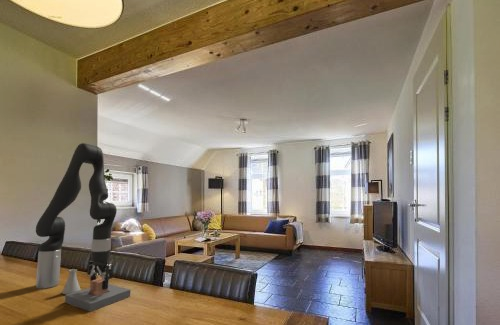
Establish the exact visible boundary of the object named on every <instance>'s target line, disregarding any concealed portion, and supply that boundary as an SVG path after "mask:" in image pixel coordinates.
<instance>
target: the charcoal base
mask: <svg viewBox="0 0 500 325" xmlns="http://www.w3.org/2000/svg"><path fill="white" fill-rule="evenodd" d="M64 295H65V294H64ZM130 297H131V289H130V288H126V287H123V286H122V287H121V286H118V285H115V284H111V283H108V292H107V293H104V294H101V295H98V296H94V295H91V294H90V287H87V288H85V289H81V290H80V291H77V292H74V293H71V294H66V295H65V297H64V298H65V299H64V303H65V304H69V305H70V306H74V307H76V308H79V309H82V310H85V311H87V312H91V313H92V312H94V311H96V310H99V309H101V308H104V307H107V306H109V305H111V304H115V303H117V302H120V301H122V300H125V299H127V298H130Z"/></svg>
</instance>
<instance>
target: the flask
mask: <svg viewBox="0 0 500 325" xmlns="http://www.w3.org/2000/svg"><path fill="white" fill-rule="evenodd" d="M77 271H78V269H75V268H72V269H69V270H68V277H67V281H66V282H65V285H64V287H63V289H62V290H61V294H62V295H67V294H71V293H74V292H77V291H80V290H82V288H81V287H80V284H79V281H78V277H77Z"/></svg>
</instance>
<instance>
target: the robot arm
mask: <svg viewBox="0 0 500 325" xmlns="http://www.w3.org/2000/svg"><path fill="white" fill-rule="evenodd" d="M83 164H87V165H92V167H93V173H92V175H91V177H90V179H89V181H88V189H89V190H88V191H89V193H90V194H89V195H90V206H89V207H90V208H89V216H90V217H91V219H93V220H96V221H97V220H103V222H101V223H100V224H96V225H95V226H93V232H92V242H91V247H90V248H91V249H90V250H91V252H90V260H89V261H88V262H87V271H86V272H87V273H86V274H87V275H88V276H89V277H90V278H89V279H90V281H92V280H96V279H97V275H98V274H99V276H100V277H101V278H102V279H103V281H102V289H103V290H104V289H107V288H108V284H109V280H110V279H113V270H114V269H113V267H114V265H113V263H109V262H108V261H110V259H111V251H112V250H111V247H112V238H111V236H112V228H113V224H114V221H115V218H116V215H117V206H116V205H115V203H112V202H106V203H101V202H103V201H106V200H107V199H108V198H109V192H108V187H107V184H106V183H107V182H106V180H105V179H106V178H105V162H104V152H103V150H102V148H101V147H100V146H97V145H93V144H90V143H84V142H82V143H79V144H78V146H76V148H75V150H74V153H73V155H72V157H71V160H70V162H69V164H68V167H67V169H66V171H65V173H64V176H63V177H62V179H61V181H60V183H59V184H58V187H57V188H56V189H55V190H56V191H55V193H54V195H53V197H52V198H51V200H50V202H49V204H48V206H47V208H46V209H45V210H44V212H43V214H42V215H41V216H40V218H39V219H38V222H37V224H36V225H35V233H36V235H37V236H38V237H40V238H47V237H48V238H47V239H46V241H44V242H42V243H41V244H40V245H38V254H37V267H36V268H37V269H36V278H35V279H36V280H35V288H36V289H38V290H40V289H50V288H54V287H57V286H58V285H59V284H60V271H61V258H62V257H61V255H62V246H63V244H64V239H65V232H66V223H65V219H64V218H63V217H61V216H59V215H60V214H61V213H62V212H63V211H64V210H65V209H67V208H68V207H69V206H70V205H72V204H73V203H74V201H75V200H76V199H77V197H79V196H78V195H79V193H80V191H81V189H82V181H81V176H80V170H81V167H82V165H83ZM90 281H89V282H90Z"/></svg>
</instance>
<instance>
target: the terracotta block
mask: <svg viewBox="0 0 500 325" xmlns="http://www.w3.org/2000/svg"><path fill="white" fill-rule="evenodd" d="M102 281H103V279H102V277H100V278H96V280H92V281H89V283H90V284H89V288H90V294H91V295H94V296H98V295H101V294H104V293H107V292H108V288H107V289H104V290H103V289H102Z"/></svg>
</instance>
